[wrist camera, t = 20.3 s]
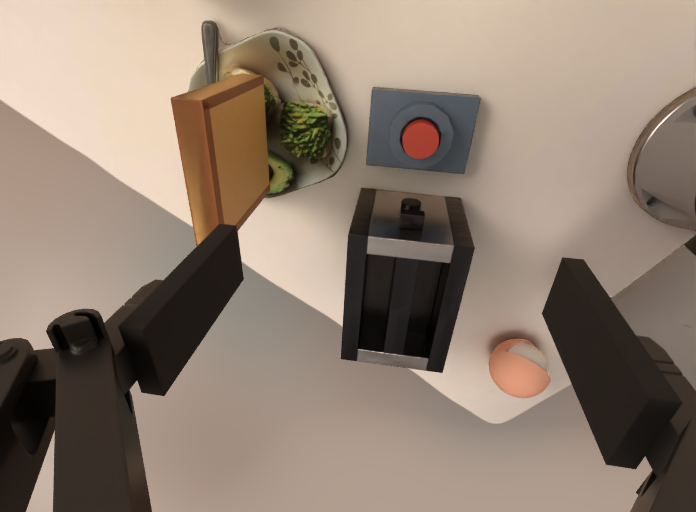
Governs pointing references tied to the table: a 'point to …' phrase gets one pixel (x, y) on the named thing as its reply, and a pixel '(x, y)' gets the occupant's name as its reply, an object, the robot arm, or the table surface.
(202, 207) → the toast
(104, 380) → the robot arm
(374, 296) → the toaster
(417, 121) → the stop button
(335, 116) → the salad plate
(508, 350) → the toy ball
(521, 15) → the table surface
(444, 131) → the button block
